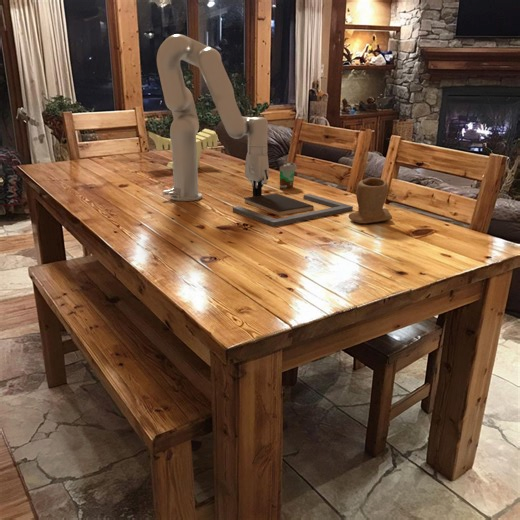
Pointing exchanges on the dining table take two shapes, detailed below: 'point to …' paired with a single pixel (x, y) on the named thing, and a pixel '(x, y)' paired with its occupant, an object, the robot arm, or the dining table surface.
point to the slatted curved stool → (202, 142)
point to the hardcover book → (278, 204)
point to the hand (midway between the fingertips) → (257, 197)
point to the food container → (287, 175)
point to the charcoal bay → (300, 217)
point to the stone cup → (371, 201)
